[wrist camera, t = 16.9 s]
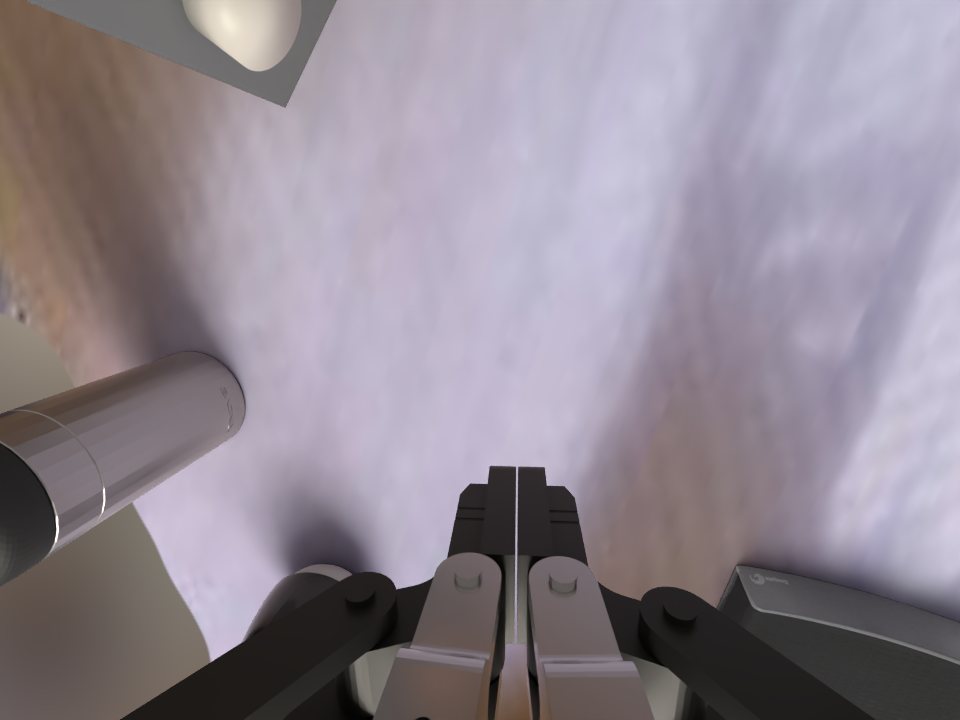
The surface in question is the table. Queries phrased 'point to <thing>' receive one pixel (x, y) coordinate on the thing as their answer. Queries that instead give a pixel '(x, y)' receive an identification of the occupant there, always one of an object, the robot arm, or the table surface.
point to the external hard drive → (853, 642)
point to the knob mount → (196, 40)
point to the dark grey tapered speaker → (295, 593)
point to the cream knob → (248, 28)
